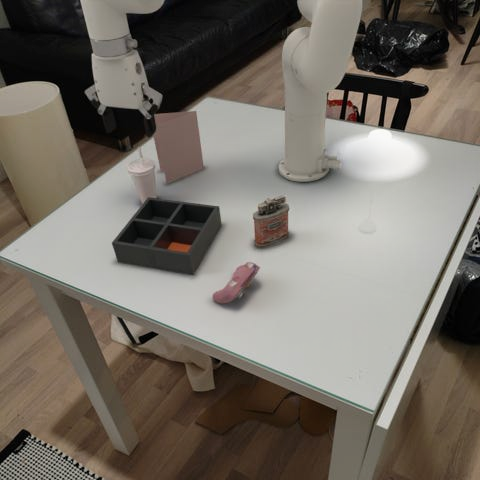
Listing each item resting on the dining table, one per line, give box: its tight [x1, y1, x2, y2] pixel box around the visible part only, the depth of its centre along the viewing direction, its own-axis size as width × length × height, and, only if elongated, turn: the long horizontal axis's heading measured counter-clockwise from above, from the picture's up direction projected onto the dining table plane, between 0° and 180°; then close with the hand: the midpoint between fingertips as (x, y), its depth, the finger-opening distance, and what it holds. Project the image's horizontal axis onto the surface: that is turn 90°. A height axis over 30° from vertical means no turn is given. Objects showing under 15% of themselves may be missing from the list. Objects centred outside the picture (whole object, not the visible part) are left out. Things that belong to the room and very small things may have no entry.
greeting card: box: [152, 110, 205, 185], centre depth 119 cm, size 11×7×15 cm, turn 92°
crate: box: [111, 197, 223, 276], centre depth 103 cm, size 17×17×5 cm
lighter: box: [252, 194, 290, 249], centre depth 99 cm, size 8×3×10 cm, turn 118°
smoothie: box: [126, 146, 158, 205], centre depth 112 cm, size 6×6×14 cm
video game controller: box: [212, 261, 261, 304], centre depth 91 cm, size 10×5×7 cm, turn 148°
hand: (131, 132), depth 104 cm, fingers open, 9 cm apart
